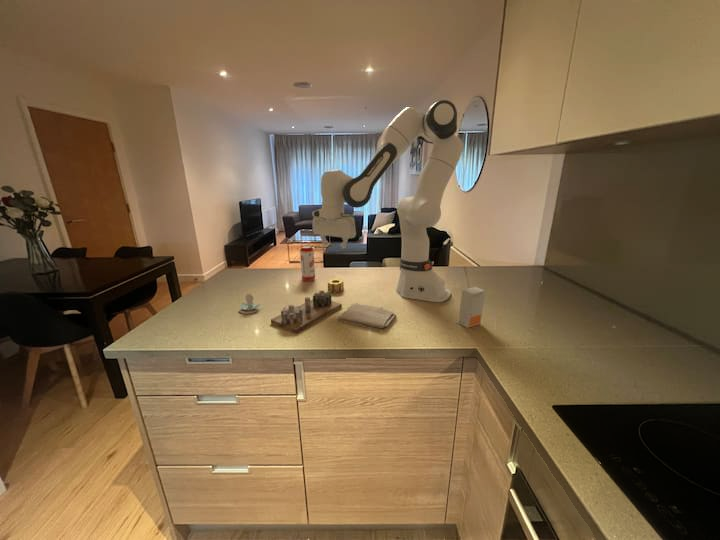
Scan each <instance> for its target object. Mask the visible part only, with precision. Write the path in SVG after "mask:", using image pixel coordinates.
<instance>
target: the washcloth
mask: <svg viewBox="0 0 720 540" xmlns="http://www.w3.org/2000/svg"><path fill="white" fill-rule="evenodd" d="M396 318H397V314H396V313H394V311H392V310H387V309H384V308H383V307H381V306H377V307H376V306H372V305H367V304H362V303H361V304H360V303H352V304H351V305H350V306H348V308H347V309H346V310H345V311H343V312H342V313H341V314H340V315H339V316H337V321H338V322H341V323H345V324H350V325H354V326H357V327H362V328H366V329H367V328H368V329H372V330H375V331H380V332H383V333H385V331H386V330H387V329H389V327H391V325H392V323H393V322H394V321H395V320H396Z"/></svg>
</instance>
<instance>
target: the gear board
mask: <svg viewBox="0 0 720 540" xmlns="http://www.w3.org/2000/svg"><path fill="white" fill-rule="evenodd" d="M342 305H343V304H342V303H340V302H336V301H333V300H332V293H330V292H329V291H326V292H325V290H319V291H318V292H315V293H314V294H313V295H312V299H311V297H310V296H306V297H304V303H302V304H300V305H297V306H295V305H294V304H288V306H287V307H286V306H285V307H283V309H281V310H280V314H279V315H277V316H275V317H273V318H271V319H270V323H271V324H272V325H274V326H276V327H279V328H281V329H284V330H286V331H289V332H291V333H295V334H296V335H297V334H298V333H301V332H302V331H304V330H306V329H307V328H309V327H311V326H312V325H314V324H316V323H318V322H319V321H321V320H322V319H325V318H326V317H328V316H330V315H331V314H334V313H335V312H336V311H338V310H341V309H342V307H343V306H342Z"/></svg>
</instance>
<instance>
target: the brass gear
mask: <svg viewBox="0 0 720 540" xmlns="http://www.w3.org/2000/svg"><path fill="white" fill-rule="evenodd" d="M344 290H345V289H344V280H342V279H340V278H339V279H337V278H333V279H329V280H328V281H327V292H329V293H330V292H331V293H330V294H332V293H333V292H335V294H338V293H342V291H344Z"/></svg>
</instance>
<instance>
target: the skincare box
mask: <svg viewBox="0 0 720 540" xmlns="http://www.w3.org/2000/svg"><path fill="white" fill-rule="evenodd" d="M485 295H486V290H484V289H482V288H479V287H477V286H474V287H468V288H464V289H462V290H461V296H460V305H459V315H458V321H457V322H458V324H460V325H461V326H463V327H465V328H467V329H469V328H471V327H475V326H479V325H481V322H482V315H483V309H484V301H485V297H486V296H485Z"/></svg>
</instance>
